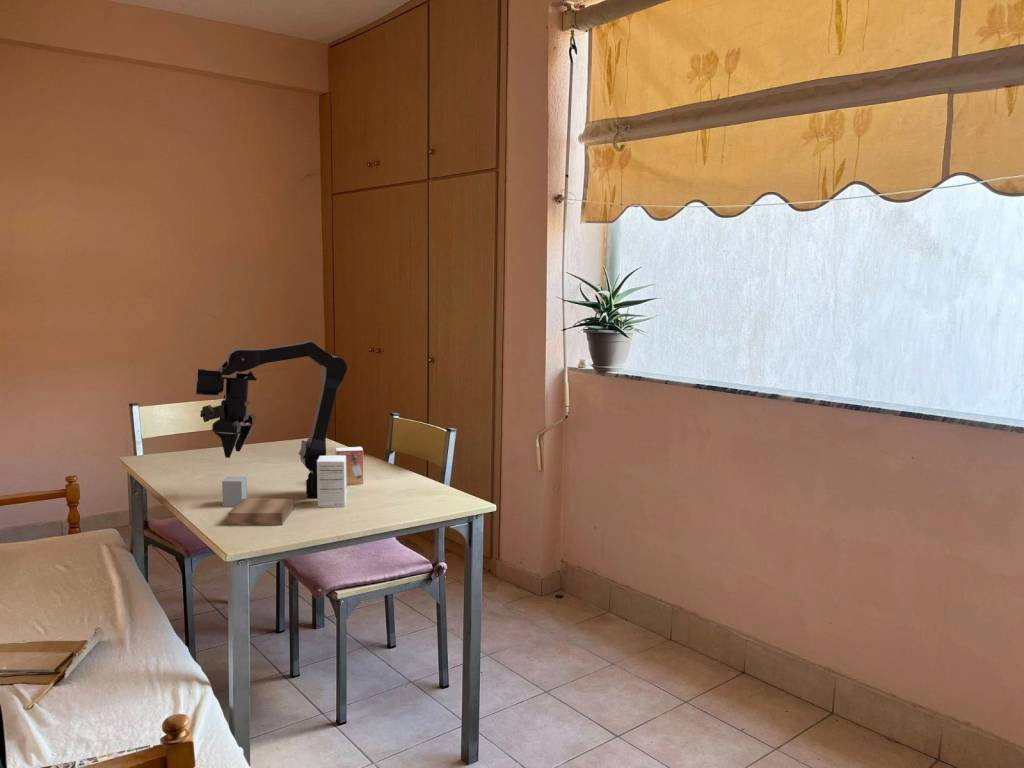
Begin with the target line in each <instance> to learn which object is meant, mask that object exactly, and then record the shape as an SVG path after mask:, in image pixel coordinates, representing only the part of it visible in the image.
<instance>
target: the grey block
mask: <svg viewBox="0 0 1024 768" xmlns="http://www.w3.org/2000/svg"><path fill="white" fill-rule="evenodd" d="M247 480H248V479H247V476H227V477H226V478H224V479H223V480H222V481H221V487H222V488H221V493H222V507H223V508H234V507H235V506H236V505H237V504H238V503H239V502H240V501H241V500H242V499H248V484H247V483H248V482H247Z"/></svg>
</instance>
